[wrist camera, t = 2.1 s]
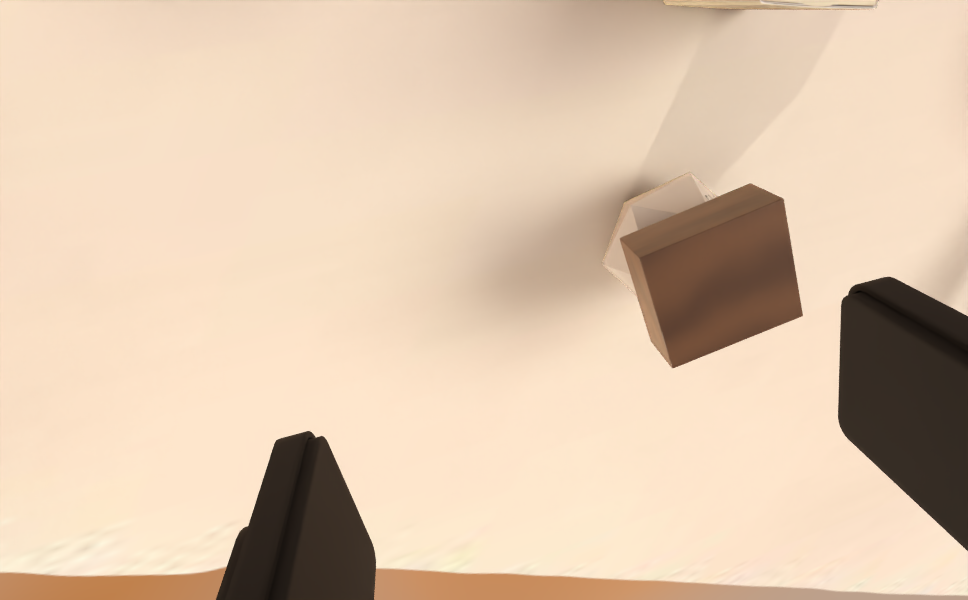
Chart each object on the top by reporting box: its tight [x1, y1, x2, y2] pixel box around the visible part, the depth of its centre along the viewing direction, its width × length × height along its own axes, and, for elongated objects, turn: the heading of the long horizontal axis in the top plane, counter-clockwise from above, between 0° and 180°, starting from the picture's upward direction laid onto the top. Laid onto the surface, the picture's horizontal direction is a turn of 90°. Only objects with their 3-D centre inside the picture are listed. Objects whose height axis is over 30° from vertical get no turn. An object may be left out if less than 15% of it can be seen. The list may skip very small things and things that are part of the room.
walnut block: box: [620, 184, 803, 368], centre depth 37 cm, size 8×8×4 cm
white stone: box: [602, 172, 717, 296], centre depth 42 cm, size 8×9×10 cm
